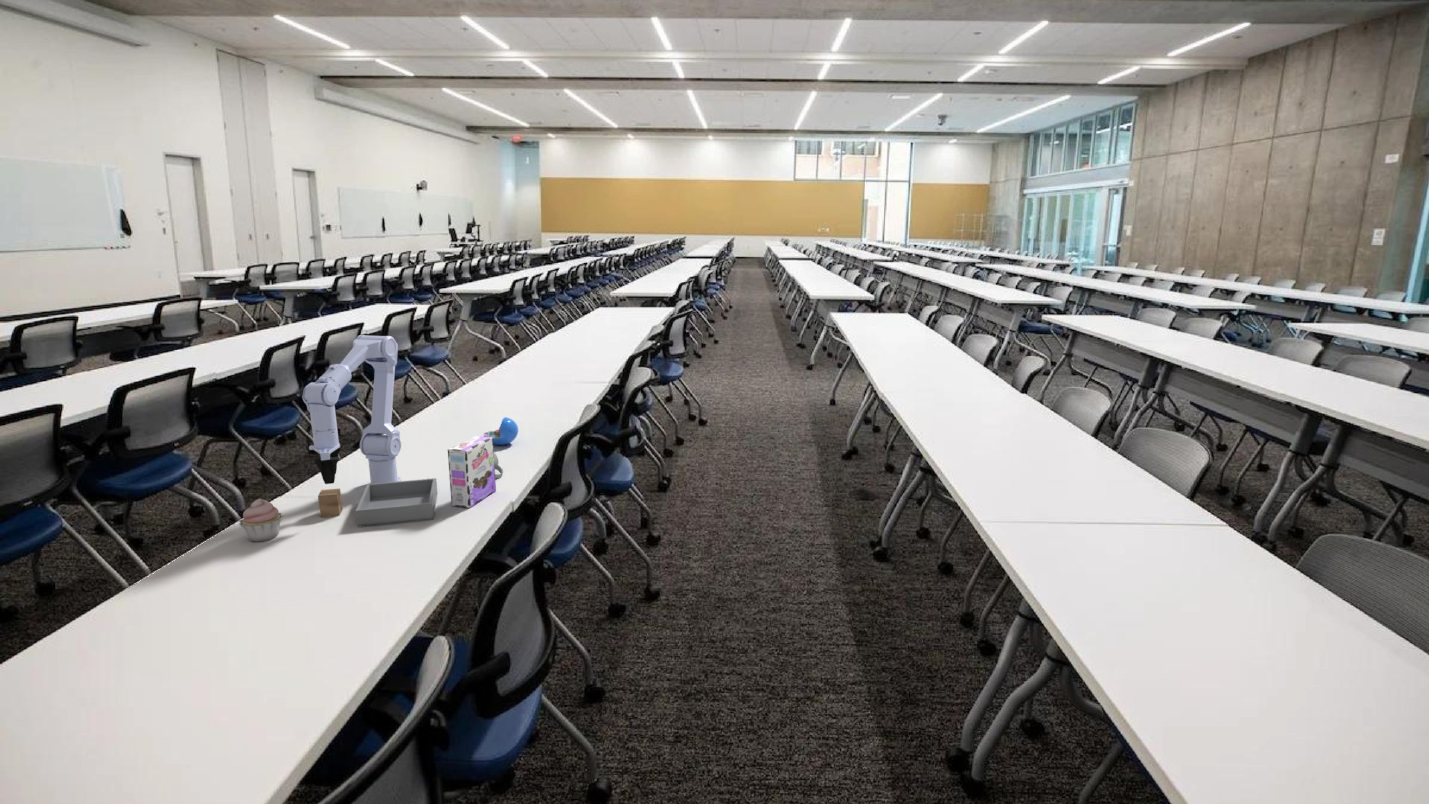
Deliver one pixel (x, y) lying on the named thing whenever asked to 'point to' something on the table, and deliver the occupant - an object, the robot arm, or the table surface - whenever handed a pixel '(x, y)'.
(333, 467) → the robot arm
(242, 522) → the cupcake
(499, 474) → the ceramic mug
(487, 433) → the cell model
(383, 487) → the grey bin
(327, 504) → the walnut block
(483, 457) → the candy box
